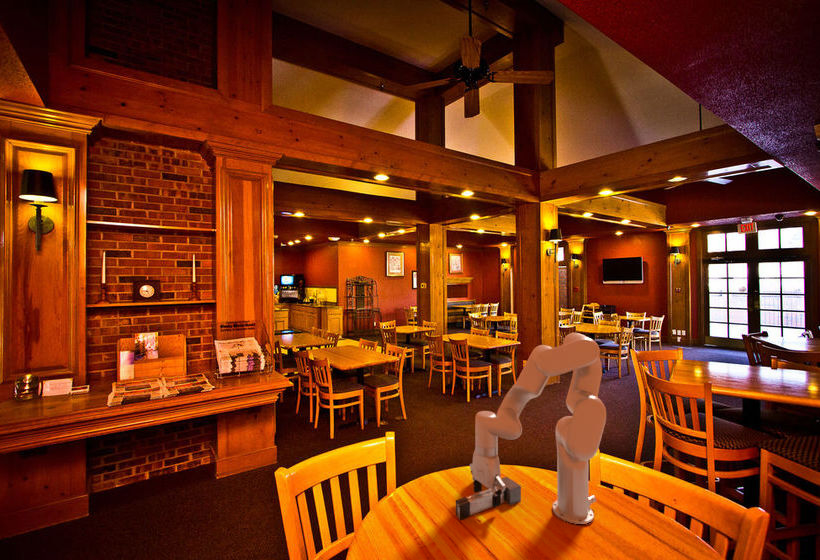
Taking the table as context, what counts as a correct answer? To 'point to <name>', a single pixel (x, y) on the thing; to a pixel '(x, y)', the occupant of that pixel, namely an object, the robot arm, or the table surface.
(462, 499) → the tong base
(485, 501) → the tong arm
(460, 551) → the table surface
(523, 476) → the table surface
